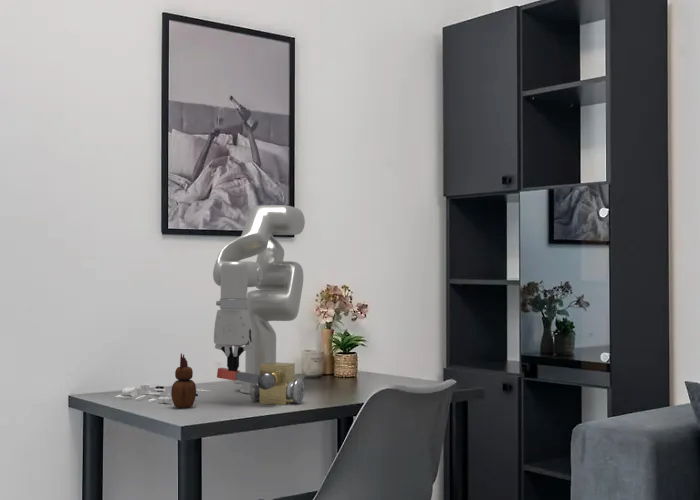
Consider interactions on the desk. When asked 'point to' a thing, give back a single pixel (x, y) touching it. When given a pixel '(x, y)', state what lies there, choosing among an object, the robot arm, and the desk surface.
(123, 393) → the miniature set
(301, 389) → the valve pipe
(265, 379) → the lever
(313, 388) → the desk surface
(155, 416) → the desk surface
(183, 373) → the wooden figurine
